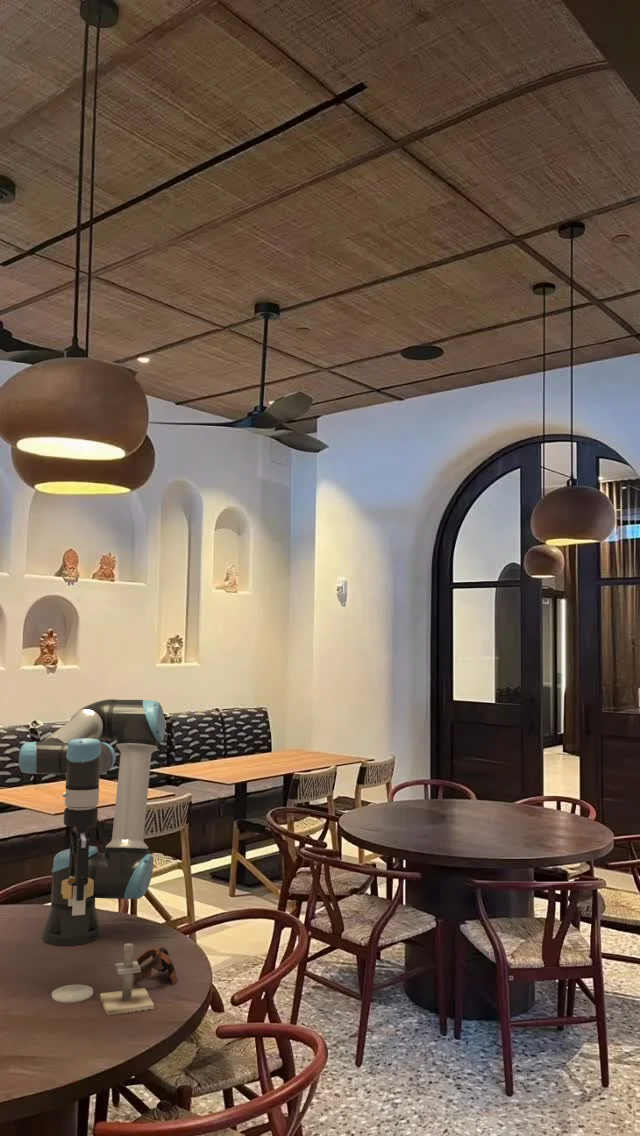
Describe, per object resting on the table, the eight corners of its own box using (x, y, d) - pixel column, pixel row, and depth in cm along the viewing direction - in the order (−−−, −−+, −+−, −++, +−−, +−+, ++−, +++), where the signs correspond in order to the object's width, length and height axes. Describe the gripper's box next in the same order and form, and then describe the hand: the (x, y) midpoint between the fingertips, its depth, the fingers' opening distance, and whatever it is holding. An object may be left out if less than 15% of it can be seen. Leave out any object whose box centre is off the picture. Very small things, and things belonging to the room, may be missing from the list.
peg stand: (99, 998, 192) (102, 940, 193) (144, 992, 196) (146, 935, 197) (106, 1015, 183) (109, 954, 184) (153, 1009, 186) (155, 949, 188)
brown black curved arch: (175, 991, 198) (158, 961, 197) (139, 1007, 199) (122, 977, 198) (185, 960, 210) (169, 931, 209) (152, 974, 211) (136, 947, 210)
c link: (90, 889, 200) (91, 876, 200) (94, 897, 194) (95, 884, 194) (60, 892, 197) (60, 878, 198) (63, 900, 191) (64, 886, 191)
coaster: (49, 990, 196) (50, 987, 196) (90, 985, 199) (90, 982, 199) (53, 1005, 188) (53, 1002, 188) (95, 999, 191) (95, 996, 191)
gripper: (59, 800, 205) (54, 899, 203) (69, 815, 187) (64, 924, 185) (91, 799, 208) (87, 897, 206) (104, 813, 190) (99, 920, 187)
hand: (76, 909), depth 195 cm, fingers closed on c link, 7 cm apart
